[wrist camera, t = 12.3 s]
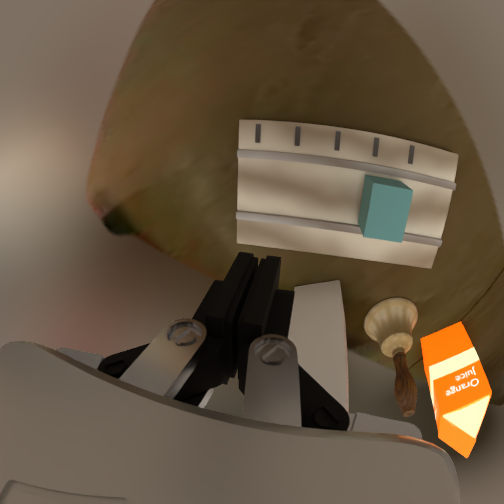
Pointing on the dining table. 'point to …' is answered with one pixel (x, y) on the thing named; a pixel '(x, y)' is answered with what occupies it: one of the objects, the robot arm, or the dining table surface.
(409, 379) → the hand bell
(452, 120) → the dining table surface
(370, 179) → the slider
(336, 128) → the count board
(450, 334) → the orange juice
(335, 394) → the milk
